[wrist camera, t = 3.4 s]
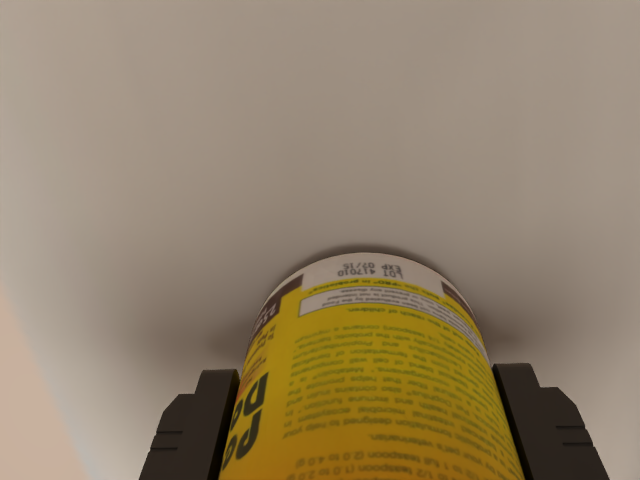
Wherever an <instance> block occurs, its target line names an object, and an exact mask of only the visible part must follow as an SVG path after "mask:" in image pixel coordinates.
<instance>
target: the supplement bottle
mask: <svg viewBox="0 0 640 480" xmlns="http://www.w3.org/2000/svg"><path fill="white" fill-rule="evenodd" d="M218 480H525V476H524V473H523V470H522V467H521V463H520V460H519V457H518V453H517V450H516V447H515V444H514V441H513V437H512V434H511V431H510V427H509V424H508V421H507V417H506V414H505V410H504V407H503V404H502V401H501V397H500V394H499V390H498V387H497V384H496V381H495V378H494V374H493V371H492V367H491V364H490V361H489V358H488V354H487V351H486V348H485V345H484V342H483V337H482V335H481V332H480V329H479V326H478V323H477V321H476V318H475V316H474V314H473V312H472V310H471V308H470V306H469V305H468V303H467V302H466V300H465V299H464V298H463V297H462V295H461V294H460V293H459V292H458V290H457V289H456V288H455V287H454V286H453V285H452V284H451V283H450V282H449V281H447V280H446V279H445V278H444V277H442V276H441V275H440V274H438V273H437V272H435V271H433V270H432V269H430V268H428V267H426V266H424V265H422V264H420V263H417V262H415V261H412V260H409V259H406V258H403V257H398V256H394V255H388V254H381V253H351V254H343V255H338V256H333V257H329V258H326V259H323V260H320V261H317V262H315V263H312V264H310V265H308V266H306V267H304V268H302V269H300V270H298V271H297V272H295V273H294V274H292V275H291V276H290V277H288V278H287V279H286V280H284V281H283V282H282V283H281V284H280V285H279V286H278V287H277V288H276V289H275V290H274V291H273V292H272V293H271V295H270V296H269V297H268V298H267V300H266V301H265V303H264V305H263V306H262V308H261V310H260V312H259V314H258V316H257V318H256V321H255V324H254V327H253V330H252V334H251V337H250V341H249V345H248V350H247V353H246V358H245V363H244V367H243V372H242V376H241V380H240V385H239V389H238V393H237V397H236V401H235V405H234V410H233V415H232V420H231V425H230V429H229V433H228V437H227V441H226V446H225V451H224V455H223V459H222V463H221V468H220V472H219V476H218Z"/></svg>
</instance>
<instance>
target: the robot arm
mask: <svg viewBox="0 0 640 480" xmlns="http://www.w3.org/2000/svg"><path fill="white" fill-rule="evenodd" d="M492 371H493V374H494V378H495V381H496V384H497V387H498V390H499V394H500V397H501V401H502V404H503V407H504V410H505V414H506V417H507V421H508V424H509V427H510V431H511V434H512V437H513V441H514V444H515V447H516V450H517V453H518V457H519V460H520V463H521V467H522V470H523V473H524V476H525V480H610V479H609V477H608V475H607V472H606V470H605V468H604V466H603V464H602V461H601V459H600V457H599V455H598V453H597V451H596V448H595V447H593V442H592V440H591V437H590V435H589V433H588V431H587V430H586V429H585V424H584V422H583V420H582V418H581V415H580V413H579V411H578V409H577V407H576V405H575V404H574V403H573V402H572V401H571V400H570V399H569V398H568V397H567V396H566V395H565V394H564V393H563V392H562V391H561V390H560V389H559V388H558V387H545V388H540V386H539V383H538V381H537V378H536V376H535V373H534V371H533V368H532V366H531V365H530V364H529V363H514V364H494V365H493V367H492ZM239 385H240V379H239V374H238V371H237V370H236V369H225V370H203V371H202V373H201V375H200V378H199V381H198V385H197V388H196V391H195V394H179V395H178V396H177V397H176V398H175V399H174V400H173V402H172V403H171V404H170V405H169V406H168V407H167V408H166V409H165V411H164V412H163V414H162V417H161V420H160V422H159V425H158V428H157V431H156V436H154V439H153V442H152V444H151V447H150V452H149V453H148V455H147V458H146V461H145V464H144V466H143V469H142V472H141V475H140V477H139V480H218V476H219V472H220V468H221V463H222V459H223V455H224V451H225V446H226V441H227V437H228V433H229V429H230V425H231V420H232V415H233V410H234V405H235V401H236V397H237V393H238V389H239Z"/></svg>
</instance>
